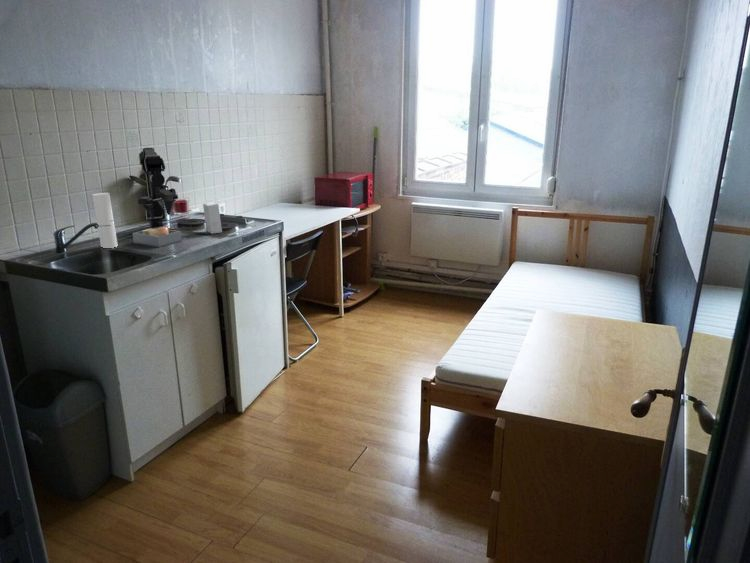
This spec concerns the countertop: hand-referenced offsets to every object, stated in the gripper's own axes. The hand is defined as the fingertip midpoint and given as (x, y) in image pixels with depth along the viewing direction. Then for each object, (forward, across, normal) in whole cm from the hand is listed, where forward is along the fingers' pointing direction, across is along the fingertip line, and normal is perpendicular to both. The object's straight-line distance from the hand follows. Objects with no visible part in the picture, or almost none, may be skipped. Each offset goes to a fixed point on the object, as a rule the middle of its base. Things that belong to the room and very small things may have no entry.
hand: (160, 216), depth 267 cm
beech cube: (+12, 0, +9) cm, 15 cm away
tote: (+13, 0, +4) cm, 14 cm away
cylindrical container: (+13, -17, +18) cm, 28 cm away
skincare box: (+13, +29, -4) cm, 32 cm away
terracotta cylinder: (+12, 0, 0) cm, 12 cm away
